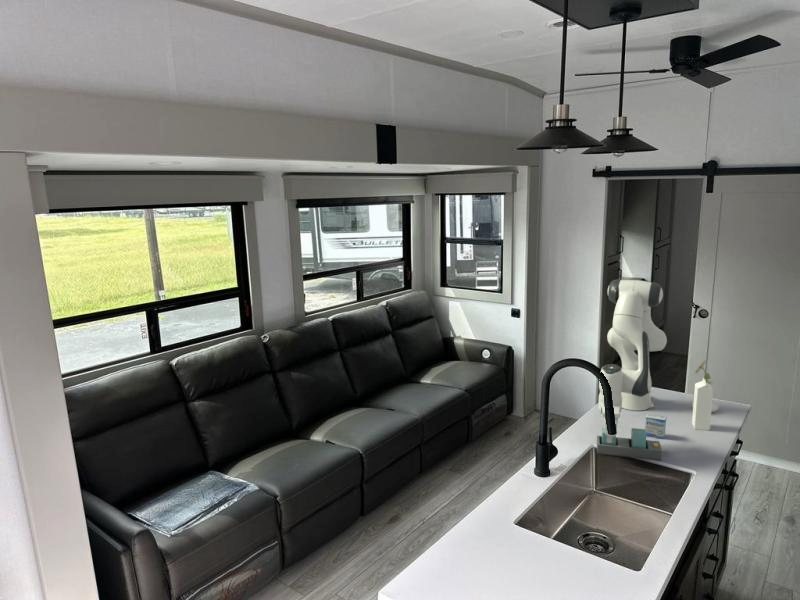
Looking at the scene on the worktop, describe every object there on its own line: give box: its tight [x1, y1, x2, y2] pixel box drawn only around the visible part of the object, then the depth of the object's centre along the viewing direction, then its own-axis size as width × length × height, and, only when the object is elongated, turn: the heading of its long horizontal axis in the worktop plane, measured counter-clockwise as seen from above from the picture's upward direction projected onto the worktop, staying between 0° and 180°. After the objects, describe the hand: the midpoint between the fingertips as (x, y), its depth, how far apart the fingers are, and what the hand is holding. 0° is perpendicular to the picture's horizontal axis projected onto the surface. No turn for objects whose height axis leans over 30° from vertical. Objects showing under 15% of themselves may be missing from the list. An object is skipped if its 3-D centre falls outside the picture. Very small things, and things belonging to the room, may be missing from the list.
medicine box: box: [644, 413, 667, 440], centre depth 238 cm, size 8×4×9 cm, turn 62°
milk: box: [691, 377, 714, 431], centre depth 243 cm, size 6×6×22 cm
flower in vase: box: [691, 359, 720, 413], centre depth 260 cm, size 13×11×25 cm
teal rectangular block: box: [601, 427, 617, 446], centre depth 227 cm, size 5×5×8 cm
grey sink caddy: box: [596, 427, 663, 461], centre depth 225 cm, size 9×24×10 cm, turn 73°
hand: (608, 436), depth 227 cm, fingers open, 8 cm apart
